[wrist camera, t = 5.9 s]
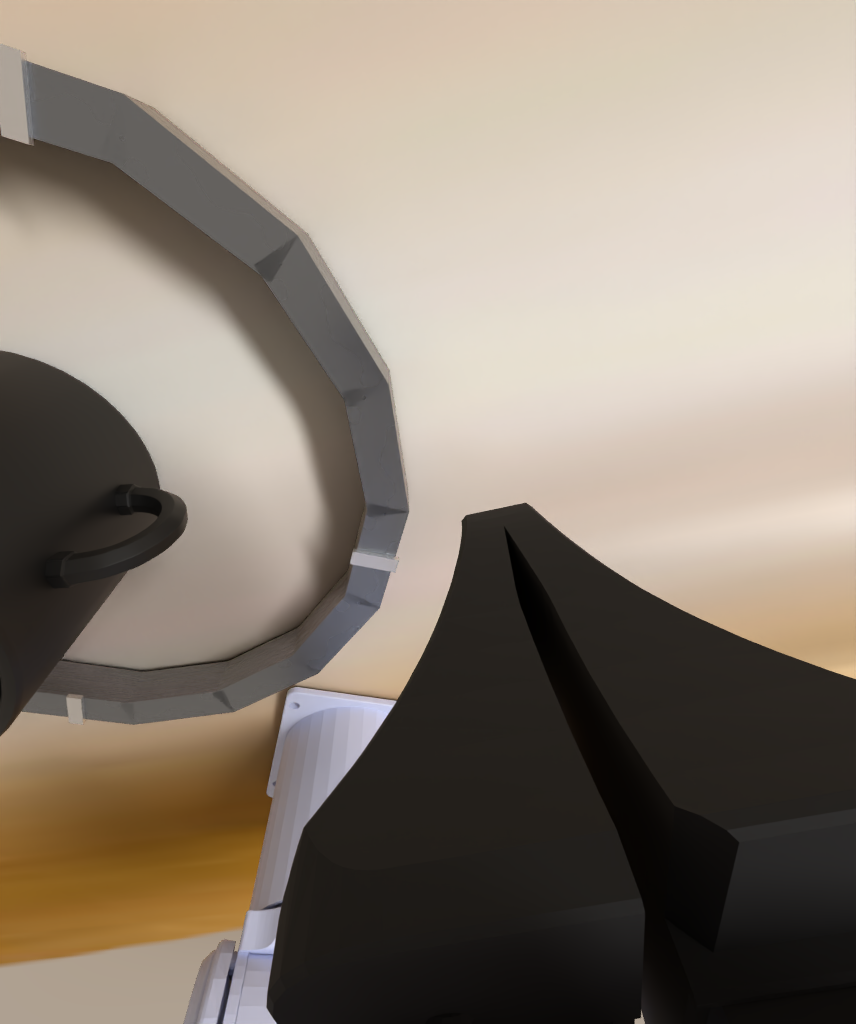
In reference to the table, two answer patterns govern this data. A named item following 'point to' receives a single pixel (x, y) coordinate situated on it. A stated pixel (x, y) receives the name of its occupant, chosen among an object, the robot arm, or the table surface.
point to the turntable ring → (324, 327)
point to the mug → (66, 517)
